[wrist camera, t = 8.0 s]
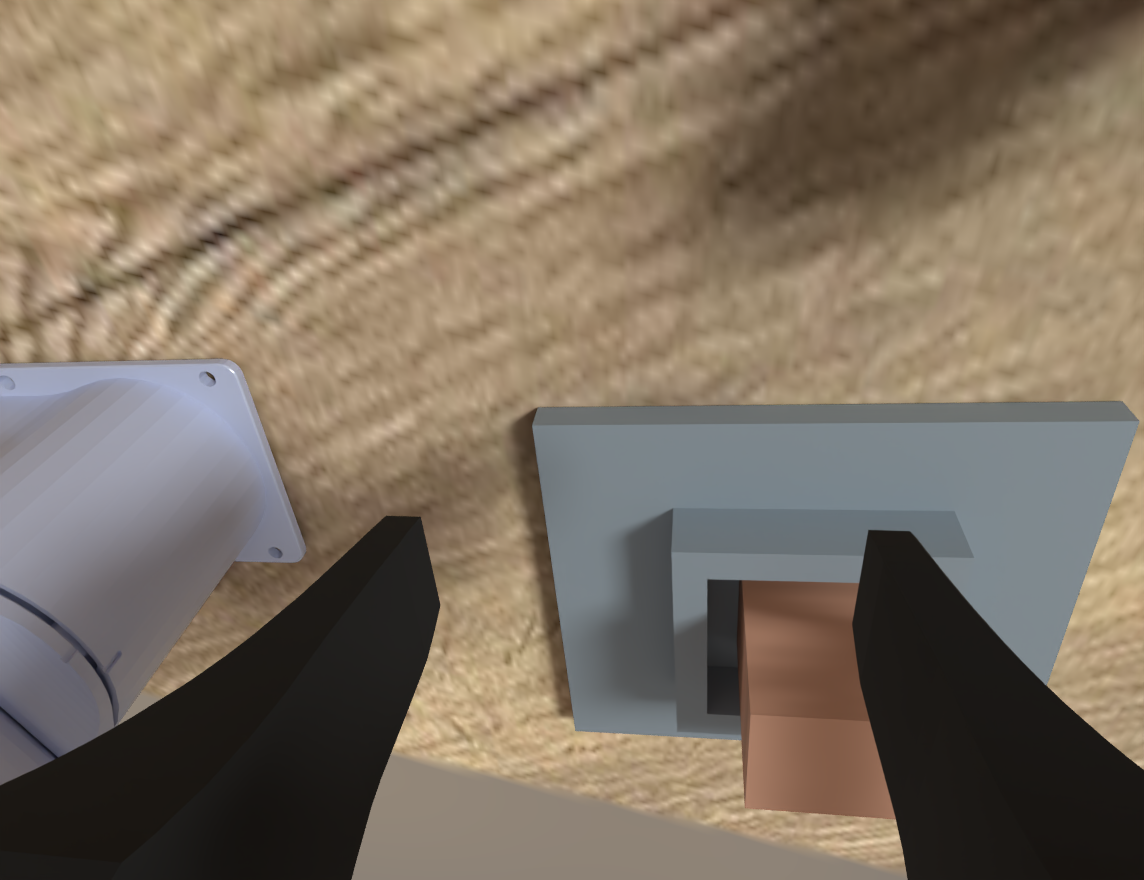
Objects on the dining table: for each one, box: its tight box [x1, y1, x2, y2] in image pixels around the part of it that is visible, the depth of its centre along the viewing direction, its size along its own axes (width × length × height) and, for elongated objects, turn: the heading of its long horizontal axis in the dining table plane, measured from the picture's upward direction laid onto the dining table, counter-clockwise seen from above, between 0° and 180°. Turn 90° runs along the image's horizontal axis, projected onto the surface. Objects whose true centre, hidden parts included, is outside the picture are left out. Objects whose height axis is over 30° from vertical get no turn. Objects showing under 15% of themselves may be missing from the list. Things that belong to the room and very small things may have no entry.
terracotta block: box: [737, 580, 896, 819], centre depth 23 cm, size 4×4×6 cm
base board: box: [532, 401, 1139, 740], centre depth 25 cm, size 16×14×3 cm
